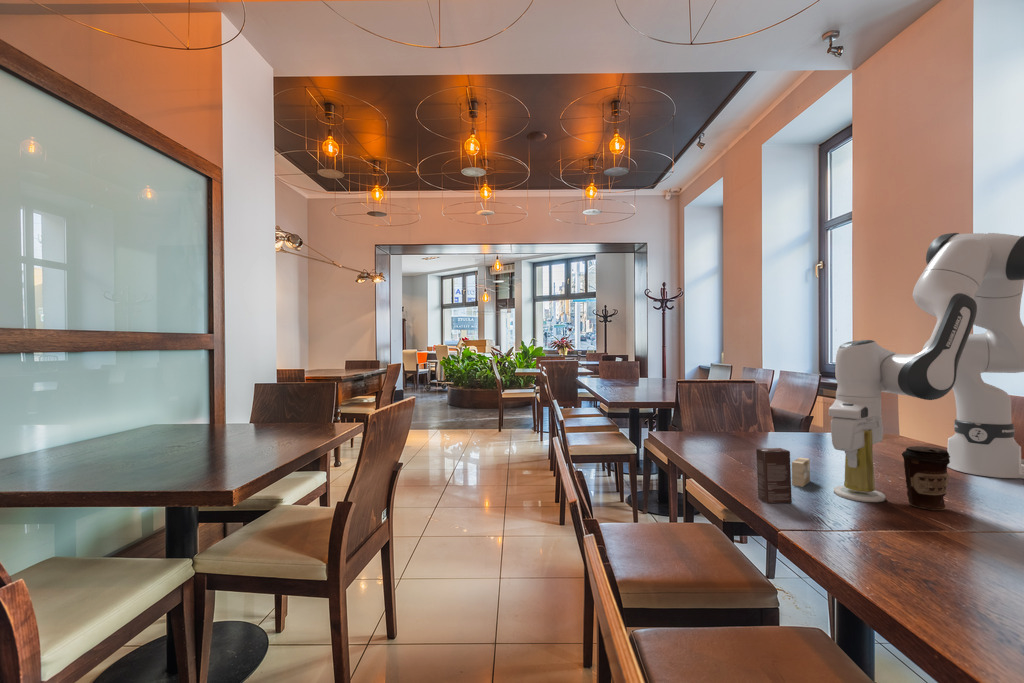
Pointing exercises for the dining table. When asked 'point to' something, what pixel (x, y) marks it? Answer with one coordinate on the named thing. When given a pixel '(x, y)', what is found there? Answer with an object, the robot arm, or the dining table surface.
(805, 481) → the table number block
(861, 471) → the vase
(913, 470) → the coffee cup
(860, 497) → the coaster
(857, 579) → the dining table surface
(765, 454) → the box
